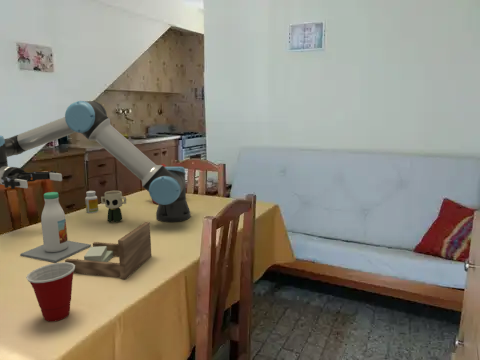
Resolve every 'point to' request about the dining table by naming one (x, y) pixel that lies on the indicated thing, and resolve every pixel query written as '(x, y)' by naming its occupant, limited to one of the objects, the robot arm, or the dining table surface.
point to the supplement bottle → (91, 202)
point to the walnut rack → (120, 255)
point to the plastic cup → (53, 289)
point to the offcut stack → (98, 254)
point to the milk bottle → (53, 224)
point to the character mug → (113, 205)
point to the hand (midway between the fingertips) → (44, 180)
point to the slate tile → (55, 256)
